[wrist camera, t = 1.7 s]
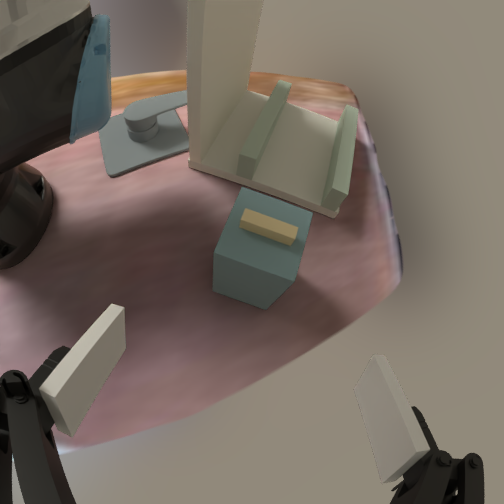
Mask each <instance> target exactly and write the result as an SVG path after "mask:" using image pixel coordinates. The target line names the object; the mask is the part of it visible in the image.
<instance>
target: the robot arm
mask: <svg viewBox="0 0 504 504" xmlns="http://www.w3.org/2000/svg"><path fill="white" fill-rule="evenodd" d="M110 68H111V66H110V18H109V16H108V15H100V14H98V15H95V17H92V14H91V7H90V1H89V0H0V269H4V268H9V267H12V266H14V265H16V264H18V263H19V262H21V261H22V260H23V259H24V258H26V257H27V256H28V255H29V254H30V252H31V251H32V250H33V249H34V248H35V246H36V245H37V244H38V242H39V241H40V239H41V237H42V235H43V234H44V232H45V230H46V227H47V225H48V222H49V219H50V216H51V212H52V205H53V195H52V190H51V187H50V185H49V183H48V182H47V180H46V179H45V177H44V176H43V175H42V173H41V172H40V171H38V170H37V169H35V168H34V167H32V166H30V165H29V164H27V163H25V162H26V161H28V160H30V159H32V158H35V157H37V156H39V155H41V154H43V153H46V152H48V151H50V150H53V149H55V148H57V147H60V146H62V145H65V144H67V143H70V144H73V143H74V142H75V141H76V140H77V139H80V138H82V137H84V136H87V135H89V134H92V133H94V132H97V131H99V130H100V129H102V128H103V127H104V126H105V125H106V124H107V123H108V121H109V119H110V116H111V69H110ZM125 350H126V336H125V307H122V306H118V305H115V304H111V305H110V306H109V307H108V308H107V309H106V310H105V311H104V312H103V313H102V315H101V316H100V317H99V318H98V319H97V320H96V321H95V322H94V323H93V325H92V326H91V327H90V328H89V329H88V330H87V331H86V332H85V334H84V335H83V336H82V337H81V338H80V339H79V340H78V342H77V343H76V344H75V345H74V346H73V347H72V349H70V348H67V347H65V346H62V347H60V348H58V349H56V350H54V351H53V353H52V354H51V355H50V356H49V357H48V359H46V360H45V362H44V363H43V365H41V366H40V367H39V369H38V370H37V371H36V372H35V373H34V374H33V376H32V377H31V378H30V379H29V380H28V379H27V376H26V375H25V374H24V373H23V372H21V371H19V370H10V371H7V372H6V373H4V374H3V375H2V376H1V378H0V386H1V387H0V504H13V501H12V453H13V458H14V463H15V468H16V472H17V477H18V481H19V485H20V488H21V492H22V495H23V499H24V502H25V504H76V502H75V500H74V497H73V495H72V492H71V490H70V487H69V484H68V482H67V479H66V476H65V473H64V470H63V467H62V464H61V461H60V458H59V454H58V451H57V447H56V444H55V440H54V436H53V432H52V430H51V427H52V426H53V424H54V423H55V425H56V427H57V429H58V430H59V431H61V432H63V433H65V434H67V435H69V436H71V437H73V436H74V435H75V433H76V431H77V429H78V427H79V426H80V424H81V422H82V420H83V419H84V417H85V415H86V413H87V412H88V410H89V408H90V407H91V405H92V403H93V401H94V400H95V398H96V396H97V395H98V393H99V391H100V390H101V388H102V386H103V385H104V383H105V382H106V380H107V378H108V377H109V375H110V373H111V372H112V370H113V369H114V367H115V365H116V364H117V362H118V361H119V359H120V357H121V356H122V354H123V353H124V351H125ZM354 392H355V395H356V398H357V402H358V405H359V408H360V411H361V414H362V417H363V420H364V424H365V427H366V430H367V434H368V436H369V440H370V443H371V447H372V450H373V454H374V457H375V461H376V464H377V468H378V472H379V475H380V479H381V483H388V482H393V481H396V480H397V479H398V478H399V477H401V476H402V475H403V478H404V480H403V481H402V482H400V483H399V484H398V485H397V486H395V487H394V488H393V489H392V490H391V491H394V490H396V489H397V488H398V489H397V491H396V493H395V495H394V497H393V499H392V501H391V502H390V504H484V470H483V462H482V459H481V457H480V456H479V455H477V454H475V453H469V454H467V455H466V456H465V457H464V458H463V459H453V458H452V457H451V456H450V454H449V453H447V452H446V451H442V450H439V449H438V447H437V445H436V442H435V440H434V438H433V436H432V434H431V432H430V430H429V428H428V425H427V423H426V422H425V419H424V417H423V415H422V413H421V412H420V411H419V410H418V409H417V408H416V407H415V406H414V407H411V406H410V404H409V402H408V400H407V398H406V396H405V394H404V391H403V389H402V388H401V385H400V384H399V382H398V380H397V378H396V376H395V374H394V372H393V370H392V368H391V366H390V364H389V362H388V361H387V358H386V356H385V355H379V354H373V355H372V357H371V359H370V361H369V363H368V365H367V367H366V368H365V370H364V372H363V374H362V376H361V377H360V379H359V381H358V383H357V384H356V386H355V388H354ZM456 490H458V494H457V495H455V491H456Z"/></svg>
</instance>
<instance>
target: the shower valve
mask: <svg viewBox="0 0 504 504" xmlns="http://www.w3.org/2000/svg"><path fill="white" fill-rule="evenodd" d="M185 105H187V90H185V91H179V92H174V93H169V94H164V95H160V96H155V97H151V98H146V99H142V100H139V101H136V102H133V103H131V104H130V105H128V106H127V107H126V108H125V110H124V112H123V113H122V114H119V115H116V116H113V117H111V118H110V119H109V121H108V123H107V124H106V125H105V126H104V127H103V128H102V129H100V130H99V137H100V143H101V148H102V153H103V158H104V163H105V168H106V172H107V174H108V176H110V177H115V176H118V175H120V174H123V173H125V172H128V171H130V170H133V169H136V168H138V167H141V166H144V165H146V164H149V163H152V162H155V161H157V160H160V159H163V158H166V157H169V156H172V155H175V154H178V153H181V152H184V151H187V150H189V137H188V135H187V133H186V131H185V129H184V127H183V125H182V123H181V121H180V119H179V117H178V115H177V113H176V111H175V109H176V108H179V107H182V106H185Z"/></svg>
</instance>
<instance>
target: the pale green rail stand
mask: <svg viewBox="0 0 504 504" xmlns="http://www.w3.org/2000/svg"><path fill="white" fill-rule="evenodd" d="M263 1H264V0H188V11H187V110H188V135H189V154H190V158H189V159H188V166H189V168H193V169H196V170H199V171H202V172H205V173H208V174H212V175H215V176H218V177H221V178H224V179H227V180H230V181H233V182H236V183H239V184H242V185H245V186H248V187H250V188H253V189H256V190H259V191H262V192H265V193H267V194H270V195H273V196H276V197H278V198H281V199H284V200H287V201H289V202H292V203H295V204H297V205H300V206H302V207H305V208H308V209H310V210H313V211H315V212H318V213H321V214H323V215H326V216H328V217H331V218H333V219H334V218H335V217H336V216H337V215H338V213H339V208H340V205H341V203H342V202H343V201H344V199H345V198H346V197H347V195H348V192H349V185H350V179H351V171H352V164H353V156H354V148H355V139H356V130H357V119H358V109H356V108H354V107H351V106H349V105H346V107H345V109H344V111H343V113H342V115H341V117H340V119H339V121H338V122H337V121H335V120H333V119H330V118H328V117H325V116H323V115H320V114H317V113H315V112H312V111H310V110H307V109H304V108H301V107H299V106H296V105H293V104H290V103H287V102H286V101H287V98H288V95H289V91H290V88H291V85H292V84H291V83H288V82H285V81H282V80H279V81H278V83H277V85H276V87H275V88H274V90H273V92H272V94H271V95H270V97H268V96H265V95H262V94H258V93H255V92H251V91H248V90H247V88H248V82H249V76H250V70H251V65H252V59H253V53H254V48H255V42H256V37H257V31H258V26H259V21H260V16H261V11H262V5H263Z"/></svg>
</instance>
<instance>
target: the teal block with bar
mask: <svg viewBox="0 0 504 504" xmlns="http://www.w3.org/2000/svg"><path fill="white" fill-rule="evenodd" d="M312 215H313V212H310V211H307V210H305V209H302V208H300V207H297V206H294V205H292V204H289V203H286V202H284V201H281V200H278V199H275V198H273V197H270V196H267V195H264V194H262V193H259V192H256V191H253V190H250V189H247V188H244V187H242V188H241V190H240V192H239V194H238V197H237V199H236V201H235V204H234V206H233V208H232V210H231V213H230V215H229V217H228V220H227V222H226V224H225V227H224V229H223V231H222V234H221V236H220V238H219V241H218V243H217V246H216V248H215V250H214V256H213V291H214V292H217V293H219V294H222V295H225V296H228V297H230V298H233V299H236V300H239V301H241V302H244V303H247V304H250V305H253V306H256V307H258V308H261V309H264V310H266V309H267V308H269V307H270V306H271V305H272V304H273V303H274V302H275V301H276V300H277V299H278V298H279V297H280V296H281V295H282V294H283V293H284V292H285V291H286V290H287V289H288V288H289V287H290V286H291V285H292V284H293V283H294V282H295V279H296V275H297V272H298V268H299V264H300V261H301V257H302V254H303V250H304V246H305V242H306V239H307V235H308V231H309V227H310V223H311V219H312Z"/></svg>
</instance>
